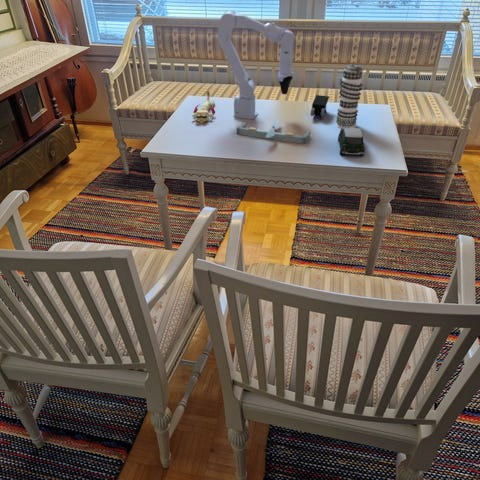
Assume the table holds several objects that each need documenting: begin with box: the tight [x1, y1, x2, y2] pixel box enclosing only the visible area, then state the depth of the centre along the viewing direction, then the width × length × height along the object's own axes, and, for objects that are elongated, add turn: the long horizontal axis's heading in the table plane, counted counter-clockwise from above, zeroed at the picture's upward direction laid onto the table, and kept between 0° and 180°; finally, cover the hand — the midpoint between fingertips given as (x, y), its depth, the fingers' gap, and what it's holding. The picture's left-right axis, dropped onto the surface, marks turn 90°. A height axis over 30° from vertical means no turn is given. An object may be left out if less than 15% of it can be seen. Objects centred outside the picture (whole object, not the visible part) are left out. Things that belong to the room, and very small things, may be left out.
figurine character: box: [310, 94, 330, 121], centre depth 194 cm, size 7×8×15 cm
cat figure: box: [191, 90, 216, 124], centre depth 197 cm, size 10×9×25 cm
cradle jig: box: [236, 121, 311, 145], centre depth 177 cm, size 30×8×3 cm, turn 67°
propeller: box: [265, 119, 281, 139], centre depth 176 cm, size 4×25×4 cm, turn 163°
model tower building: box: [335, 63, 364, 130], centre depth 178 cm, size 9×9×25 cm
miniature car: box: [337, 127, 366, 156], centre depth 164 cm, size 9×18×8 cm, turn 173°
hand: (284, 93), depth 189 cm, fingers closed
